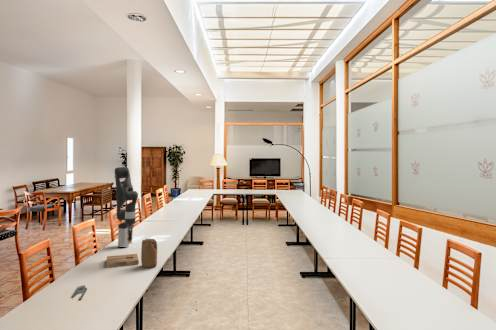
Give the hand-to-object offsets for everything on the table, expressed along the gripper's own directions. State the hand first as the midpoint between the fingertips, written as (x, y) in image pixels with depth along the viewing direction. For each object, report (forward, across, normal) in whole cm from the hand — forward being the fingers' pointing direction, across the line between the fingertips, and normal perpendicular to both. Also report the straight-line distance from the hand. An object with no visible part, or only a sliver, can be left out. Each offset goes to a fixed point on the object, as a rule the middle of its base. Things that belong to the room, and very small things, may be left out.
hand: (129, 239), depth 242 cm
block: (+17, +16, +13) cm, 27 cm away
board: (+17, 0, -5) cm, 18 cm away
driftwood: (+18, +50, -30) cm, 61 cm away
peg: (+3, 0, 0) cm, 3 cm away
